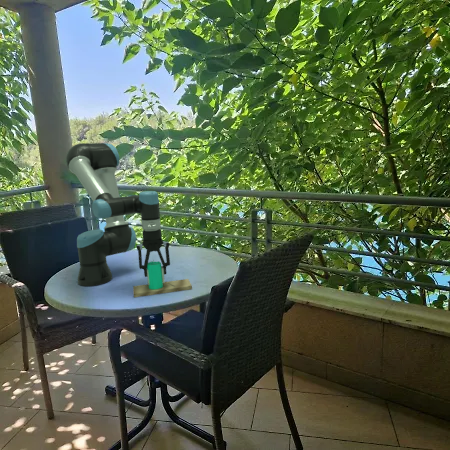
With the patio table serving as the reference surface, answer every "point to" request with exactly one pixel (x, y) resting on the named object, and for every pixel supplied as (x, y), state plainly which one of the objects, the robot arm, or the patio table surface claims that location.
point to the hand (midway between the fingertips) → (156, 282)
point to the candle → (155, 275)
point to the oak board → (167, 287)
